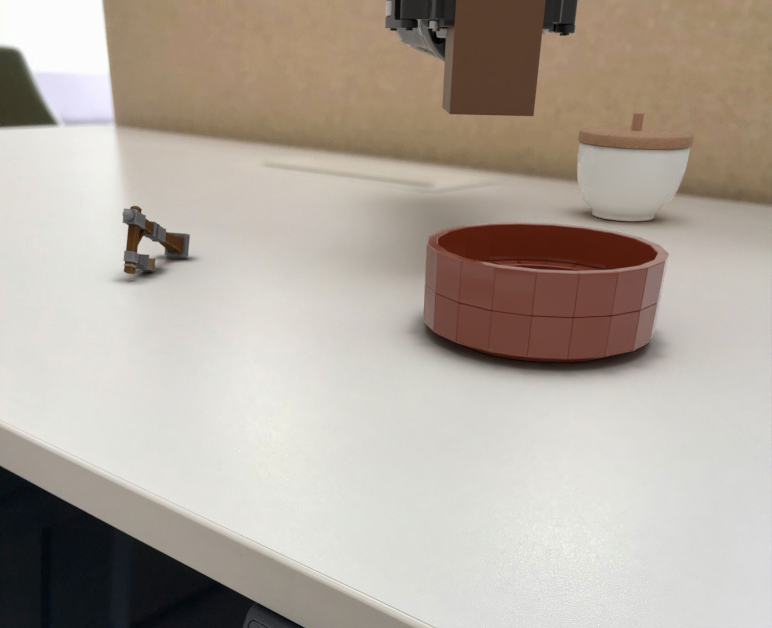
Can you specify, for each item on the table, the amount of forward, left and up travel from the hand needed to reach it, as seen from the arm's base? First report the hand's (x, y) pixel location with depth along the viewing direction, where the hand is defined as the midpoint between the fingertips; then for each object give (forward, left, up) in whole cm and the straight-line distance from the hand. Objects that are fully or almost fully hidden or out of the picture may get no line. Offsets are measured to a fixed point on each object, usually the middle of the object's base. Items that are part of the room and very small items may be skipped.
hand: (500, 6), depth 50 cm
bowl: (+8, +9, -17) cm, 21 cm away
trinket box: (-32, -5, -17) cm, 37 cm away
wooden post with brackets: (+14, -19, -17) cm, 29 cm away
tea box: (-2, -2, -6) cm, 7 cm away
